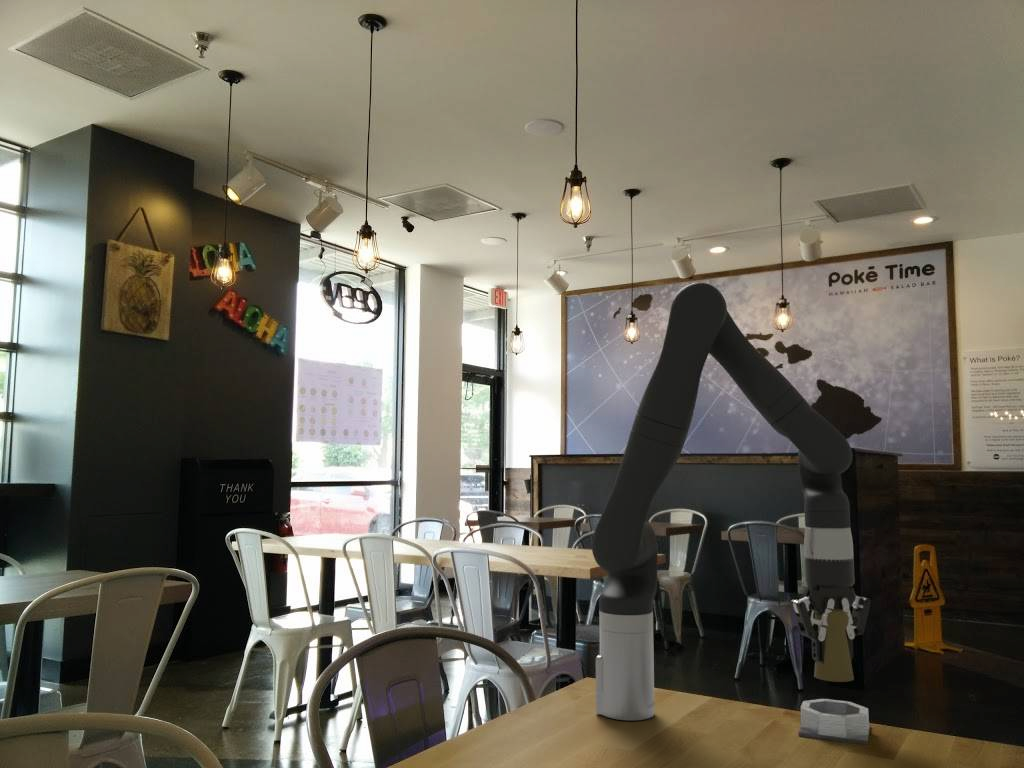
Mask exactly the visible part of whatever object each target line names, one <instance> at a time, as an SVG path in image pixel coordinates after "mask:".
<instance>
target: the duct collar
mask: <svg viewBox="0 0 1024 768" xmlns="http://www.w3.org/2000/svg"><path fill="white" fill-rule="evenodd" d="M869 719H870V718H869V708H868V707H865V706H863V705H860V704H857V703H854V702H852V701H847V700H837V699H836V700H835V699H830V698H817V699H810V700H803V701H802V703H801V705H800V727H799V730H798V737H804V738H811V739H819V740H826V741H835V742H841V743H843V742H844V743H851V744H856V745H857V744H858V745H865V746H868V745H869V744H868V743H869V737H870V729H871V723H870V721H869ZM869 724H870V725H869Z"/></svg>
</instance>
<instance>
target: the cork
mask: <svg viewBox="0 0 1024 768" xmlns="http://www.w3.org/2000/svg"><path fill="white" fill-rule="evenodd" d="M827 614H828V616H827V619H826V620H827V625H828V626H827V627H825V628H826V629H827V630H826V635H825V639H824V641H825V653H824V663H823V665H822V663H821V661H817V663H816V662H815V661H814V674H813V677H814V678H815V679H819V680H822V681H826V682H835V683H836V682H837V683H846V682H851V681H854V680H855V677H854V672H853V671H854V670H853V666H852V659H850V654H849V648H848V642H847V637H846V631H845V629H846V627H847V626H848V622H849V618H848V615H847V613H846V612H845V611H843V610H841V609H833V610H832V611H831V612H829V613H827ZM815 619H816V620H821V619H822V615H817V614H815ZM817 626H818V625H817ZM818 627H819V626H818Z"/></svg>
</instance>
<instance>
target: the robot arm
mask: <svg viewBox="0 0 1024 768" xmlns="http://www.w3.org/2000/svg"><path fill="white" fill-rule="evenodd" d="M727 308H728V307H727V302H726V299H725V297H724V295H723V293H721V291H720V290H719V289H718V288H717V287H715V286H714V285H712V284H710V283H707V282H694V283H690V284H687V285H686V286H684V287H681V288H680V290H679V291H678V292H677V293H676V294H675V296H674V297H673V299H672V302H671V305H670V309H669V317H668V322H667V327H666V331H665V337H664V341H663V345H662V347H661V348H662V349H661V353H660V356H659V359H658V361H657V364H656V366H655V369H654V370H653V372H652V375H651V376H650V379H649V381H648V383H647V385H646V388H645V390H644V392H643V395H642V397H641V400H640V403H639V406H638V408H637V410H636V414H635V417H634V420H633V423H632V426H631V429H630V433H629V435H628V440H627V444H626V447H625V449H624V453H623V456H622V459H621V462H620V465H619V469H618V473H617V475H616V478H615V482H614V484H613V488H612V490H611V493H610V495H609V497H608V500H607V502H606V504H605V507H604V509H603V511H602V513H601V515H600V518H599V520H598V522H597V524H596V527H595V528H594V532H593V535H592V540H591V552H592V555H593V558H594V561H595V563H596V564H597V565H598V566H599V567H600V569H602V570H603V571H606V572H608V576H607V581H606V583H605V587H604V588H603V589H602V591H601V593H600V594H599V598H598V608H599V609H598V611H599V615H598V616H599V623H598V624H599V654H598V655H597V656H596V657H595V714H596V715H601V716H604V717H606V718H609V719H614V720H620V721H642V720H648V719H650V718H653V716H654V715H655V670H654V669H655V668H654V667H655V666H654V665H655V661H654V660H655V659H654V656H655V654H654V651H655V650H654V600H655V597H656V593H657V589H658V563H659V562H658V561H659V559H658V556H659V555H658V553H659V552H658V542H657V536H656V533H655V531H654V529H653V527H652V526H651V524H649V522H648V521H647V518H648V514H649V511H650V508H651V505H652V503H653V501H654V499H655V496H657V493H658V491H659V490H660V489H661V487H662V485H663V484H664V482H665V481H666V480H667V478H668V477H669V475H670V474H671V472H672V470H673V469H674V467H675V465H676V464H677V462H678V460H679V458H680V455H681V453H682V451H683V448H684V446H685V443H686V440H687V436H688V434H689V431H690V427H691V424H692V421H693V420H692V419H693V417H694V412H695V407H696V404H697V399H698V394H699V393H698V392H699V387H700V382H701V381H700V380H701V377H702V373H703V369H704V367H705V364H706V362H707V359H708V356H709V355H710V356H712V358H713V359H715V360H716V362H717V363H719V365H720V366H721V367H722V369H724V370H725V371H726V373H727V374H728V375H729V376H730V377H731V379H732V380H733V381H734V383H735V385H737V387H738V388H739V389H740V391H741V392H742V393H743V395H744V397H746V399H748V400H749V402H750V403H751V405H753V407H754V408H755V410H757V412H759V414H760V415H761V416H762V417H763V419H764V420H765V421H766V423H768V424H769V425H770V426H771V427H772V429H774V431H776V432H777V433H778V434H779V435H781V436H783V437H784V438H787V439H788V440H789V441H790V442H791V443H792V444H793V445H794V446H795V447H796V449H798V454H797V465H798V473H799V478H800V482H801V483H800V485H801V490H802V494H803V499H804V507H803V508H804V526H805V527H804V538H803V544H804V545H803V546H804V547H803V548H804V549H803V550H804V572H805V573H804V574H805V575H804V576H805V583H806V586H807V589H806V592H805V595H804V597H802V598H799V599H791V600H790V603H789V605H790V607H791V610H792V613H793V616H794V619H795V623H796V624H797V628H798V632H799V634H800V635H802V636H804V637H806V638H809V639H810V640H811V656H812V660H814V663H815V662H816V663H817V661H821V663H822V665H823V663H824V653H825V641H824V639H825V635H826V630H827V629H826V628H825V627H827V626H828V625H827V620H826V619H827V616H828V614H827V613H829V612H831V611H832V610H833V609H841V610H843V611H845V612H846V613H847V615H848V618H849V622H848V626H847V627H846V629H845V631H846V637H847V642H848V648H849V654H850V659H851V660H853V659H854V639H855V637H857V636H859V635H861V636H862V635H864V633H865V628H866V625H867V621H868V617H869V612H870V609H871V603H872V602H871V599H870V598H867V597H865V596H858V595H856V593H855V590H854V587H853V586H854V584H855V583H856V580H855V561H854V560H855V559H854V543H853V535H852V531H851V529H852V528H851V506H850V501H849V497H848V495H847V493H845V491H844V490H843V484H842V476H841V475H842V474H843V473H844V472H845V471H847V470H848V469H849V468H850V466H851V464H852V462H853V449H852V447H851V445H850V443H849V441H848V440H847V439H846V437H845V435H843V433H841V431H839V429H837V428H836V427H835V426H834V425H833V424H832V423H830V422H829V421H828V420H827V419H826V418H825V417H824V416H823V415H821V414H820V413H819V412H818V411H816V410H815V409H814V408H813V407H812V406H811V405H810V404H809V402H808V401H807V400H806V399H805V398H804V397H803V396H802V394H801V393H800V392H799V390H797V389H796V387H795V386H794V385H793V384H792V383H791V382H790V381H789V380H788V378H786V377H785V375H784V374H783V373H782V372H780V370H779V369H778V368H777V367H775V366H774V365H773V364H772V363H771V362H770V361H769V360H768V359H767V358H766V357H765V356H764V355H763V354H762V353H761V352H760V350H759V351H758V350H757V348H755V346H754V345H753V344H752V343H751V342H750V340H749V339H748V338H747V337H746V336H745V335H744V334H743V332H742V331H741V329H740V328H739V327H738V325H737V324H736V322H735V321H734V319H733V318H732V316H731V314H730V313H729V311H728V309H727ZM851 608H852V611H851V610H850V609H851ZM810 609H811V613H810V614H809V611H810ZM815 614H817V615H822V619H821V620H816V619H815ZM817 625H818V626H819V627H818V626H817Z"/></svg>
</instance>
